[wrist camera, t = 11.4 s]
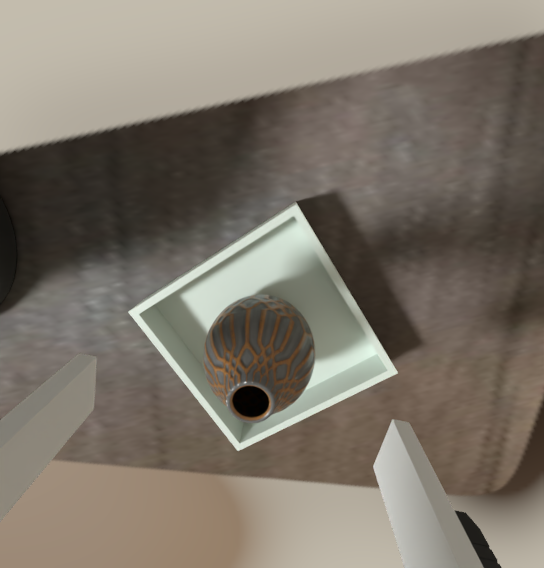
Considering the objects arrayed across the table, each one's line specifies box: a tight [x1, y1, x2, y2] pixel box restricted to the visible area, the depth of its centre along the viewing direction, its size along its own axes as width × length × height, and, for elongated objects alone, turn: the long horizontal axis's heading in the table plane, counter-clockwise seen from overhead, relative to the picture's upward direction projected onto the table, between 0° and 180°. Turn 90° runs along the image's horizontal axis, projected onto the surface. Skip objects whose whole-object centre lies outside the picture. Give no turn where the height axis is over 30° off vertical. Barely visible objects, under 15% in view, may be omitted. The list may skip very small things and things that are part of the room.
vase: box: [203, 294, 315, 423], centre depth 20 cm, size 7×7×9 cm
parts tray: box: [129, 202, 398, 451], centre depth 23 cm, size 13×13×3 cm
